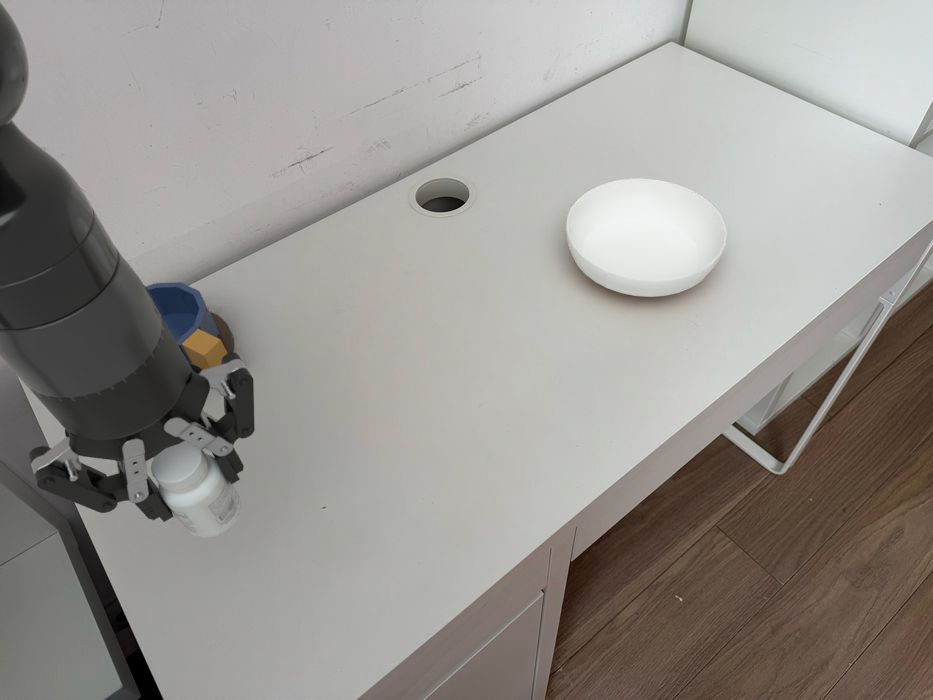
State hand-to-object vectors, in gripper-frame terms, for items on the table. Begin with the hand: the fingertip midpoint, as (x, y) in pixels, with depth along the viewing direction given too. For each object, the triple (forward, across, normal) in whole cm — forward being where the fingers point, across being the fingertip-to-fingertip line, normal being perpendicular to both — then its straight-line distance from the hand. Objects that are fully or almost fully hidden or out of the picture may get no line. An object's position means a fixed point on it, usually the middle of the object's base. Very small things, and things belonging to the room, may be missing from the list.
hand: (198, 490), depth 50 cm
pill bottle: (+4, 0, 0) cm, 4 cm away
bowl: (+19, +58, +11) cm, 62 cm away
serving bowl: (+17, +3, +32) cm, 36 cm away
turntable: (+19, +2, +33) cm, 38 cm away
